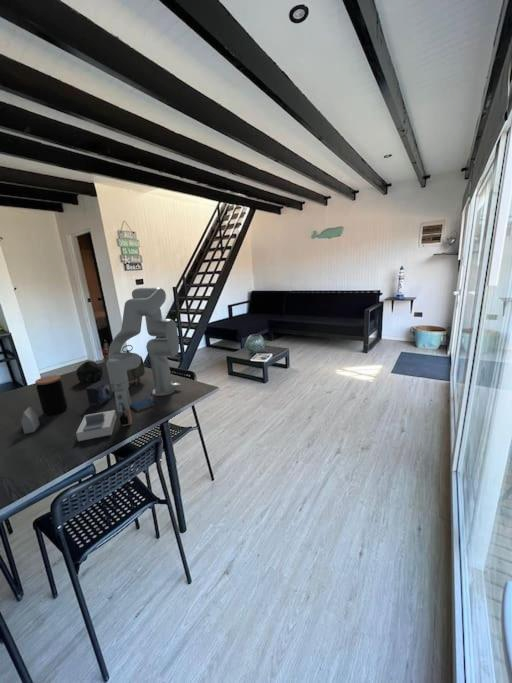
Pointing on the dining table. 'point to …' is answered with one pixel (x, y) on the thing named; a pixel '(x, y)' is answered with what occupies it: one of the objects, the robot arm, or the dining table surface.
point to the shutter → (94, 422)
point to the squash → (89, 372)
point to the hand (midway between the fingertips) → (125, 419)
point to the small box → (99, 393)
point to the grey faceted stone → (30, 420)
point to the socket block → (104, 431)
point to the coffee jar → (51, 395)
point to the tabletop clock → (137, 371)
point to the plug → (128, 417)
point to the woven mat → (142, 404)
